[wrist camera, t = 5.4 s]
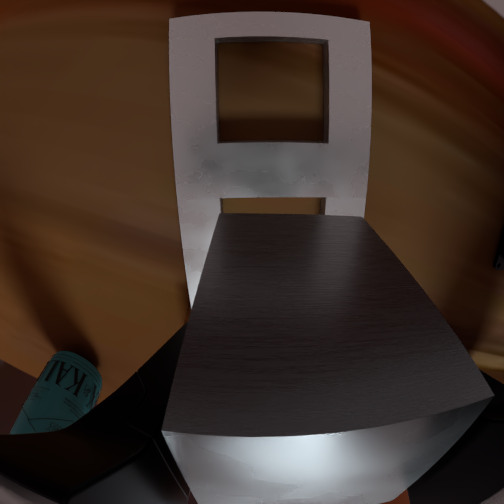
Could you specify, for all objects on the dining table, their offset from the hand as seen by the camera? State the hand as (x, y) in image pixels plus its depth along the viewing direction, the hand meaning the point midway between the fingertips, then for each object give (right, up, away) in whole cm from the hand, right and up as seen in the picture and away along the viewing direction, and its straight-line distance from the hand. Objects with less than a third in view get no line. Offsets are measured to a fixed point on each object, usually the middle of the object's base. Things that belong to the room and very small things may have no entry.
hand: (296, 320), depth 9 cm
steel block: (0, +1, +2) cm, 3 cm away
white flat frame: (0, +3, +12) cm, 13 cm away
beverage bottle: (-20, -10, +19) cm, 29 cm away
